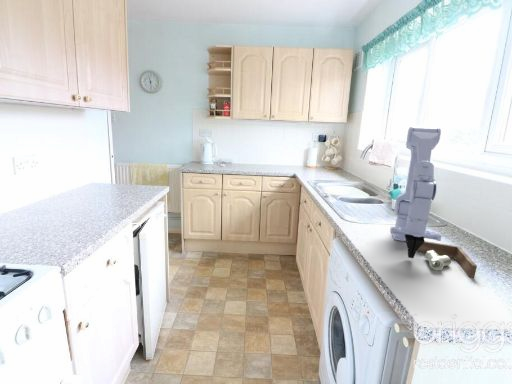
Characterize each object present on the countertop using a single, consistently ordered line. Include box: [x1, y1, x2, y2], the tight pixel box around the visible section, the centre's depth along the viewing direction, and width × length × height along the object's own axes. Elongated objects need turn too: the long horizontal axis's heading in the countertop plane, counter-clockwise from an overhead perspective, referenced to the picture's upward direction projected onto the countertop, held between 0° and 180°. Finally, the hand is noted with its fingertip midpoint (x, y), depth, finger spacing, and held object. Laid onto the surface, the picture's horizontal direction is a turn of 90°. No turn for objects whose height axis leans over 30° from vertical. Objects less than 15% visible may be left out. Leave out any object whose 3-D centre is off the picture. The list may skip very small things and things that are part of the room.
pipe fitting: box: [424, 250, 452, 272], centre depth 92 cm, size 8×4×7 cm
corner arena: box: [417, 240, 478, 279], centre depth 94 cm, size 16×13×4 cm
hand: (410, 256), depth 95 cm, fingers closed
